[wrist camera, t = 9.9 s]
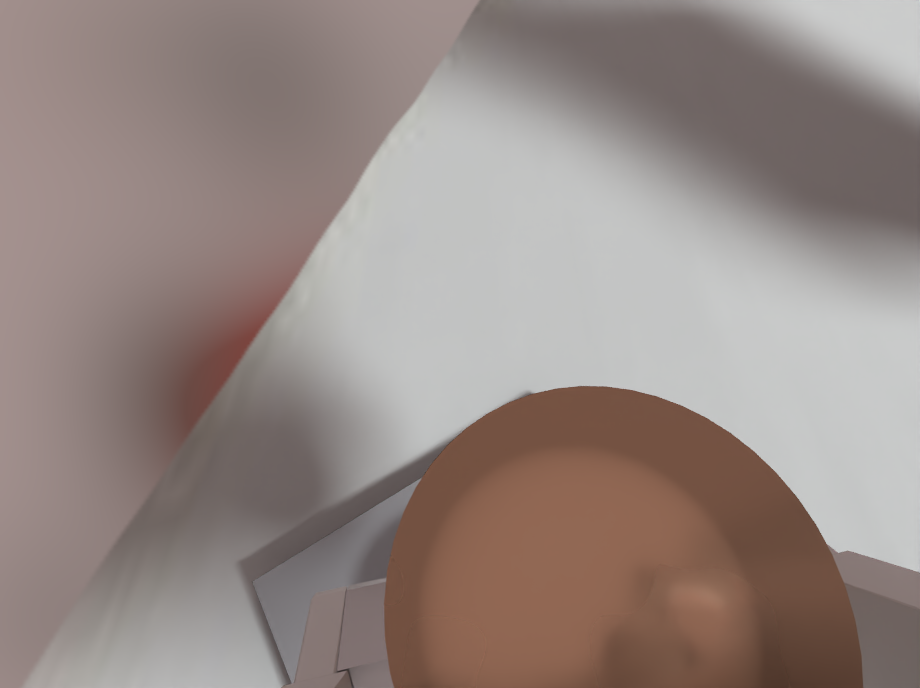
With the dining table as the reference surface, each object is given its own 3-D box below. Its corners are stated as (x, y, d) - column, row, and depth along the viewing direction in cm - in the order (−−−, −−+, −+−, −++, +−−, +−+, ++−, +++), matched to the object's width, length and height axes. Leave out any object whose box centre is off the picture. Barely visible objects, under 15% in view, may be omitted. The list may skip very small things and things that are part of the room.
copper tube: (543, 518, 15) (637, 324, 6) (642, 662, 13) (974, 683, 4) (417, 603, 14) (309, 519, 5) (504, 772, 12) (571, 1084, 3)
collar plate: (555, 405, 28) (567, 365, 24) (786, 702, 21) (855, 714, 17) (264, 585, 24) (222, 572, 20) (435, 1016, 17) (422, 1122, 13)
